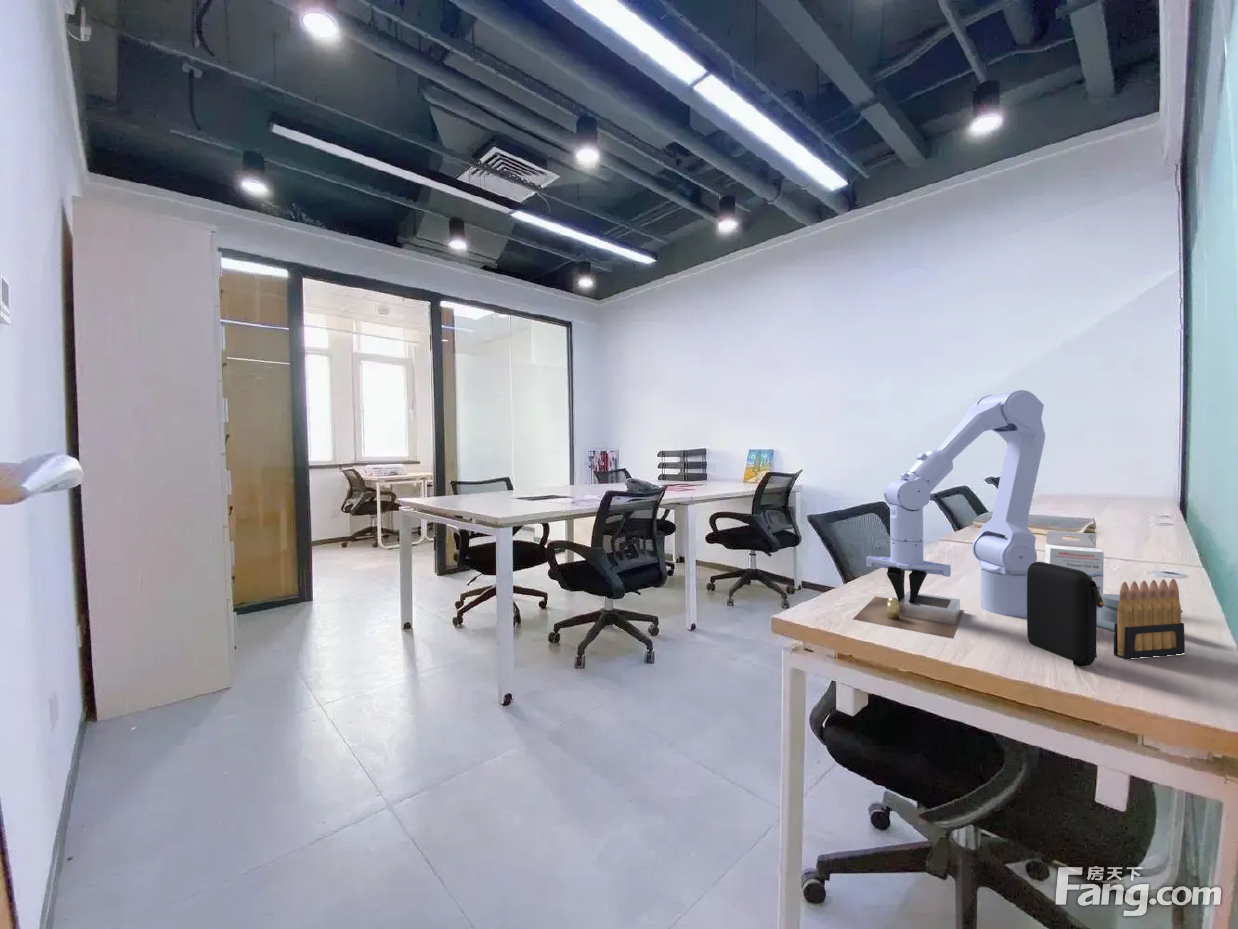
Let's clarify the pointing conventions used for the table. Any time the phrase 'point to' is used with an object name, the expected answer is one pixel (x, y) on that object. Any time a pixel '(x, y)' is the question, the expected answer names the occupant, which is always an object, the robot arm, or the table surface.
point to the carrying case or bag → (1063, 611)
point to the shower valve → (1108, 612)
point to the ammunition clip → (1149, 621)
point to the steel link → (931, 608)
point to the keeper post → (893, 609)
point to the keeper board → (904, 620)
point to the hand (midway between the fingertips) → (907, 606)
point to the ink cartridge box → (1076, 554)
